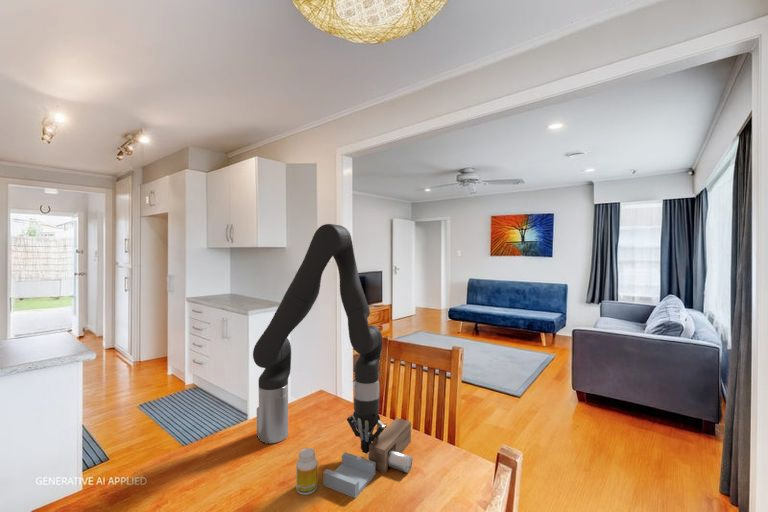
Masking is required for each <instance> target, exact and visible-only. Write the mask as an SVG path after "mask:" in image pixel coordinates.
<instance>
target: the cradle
mask: <svg viewBox="0 0 768 512" xmlns="http://www.w3.org/2000/svg"><path fill="white" fill-rule="evenodd" d="M376 472H377V471H376V462H373V461H370V460H369V459H367V458H364V457H361V456H358V455H355V454H352V453H349V452H346V451H345V452H343V454H342V455H341V464H340V465H339V466H337V468H336V469H335V470H331V469H329V468H326V469H325V470H324V471H323V472H322V483H323V484H322V485H323V486H324V487H327V488H329V489H331V490H334V491H335V492H338V493H341V494H342V495H345V496H348V497H350V498H354V499H356V498H357V497H358V496H359V495H360V494H361V493H362V492H363V490H364V489H365V488H366V487H367V486H368V484H369V483H370V482H371V481H372V480H373V478H374V477H375V476H376V475H377V473H376Z"/></svg>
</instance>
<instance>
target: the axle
mask: <svg viewBox="0 0 768 512" xmlns="http://www.w3.org/2000/svg"><path fill="white" fill-rule="evenodd" d="M367 454H368V459H369V453H367ZM412 465H413V457H412V455H408V454H405V453H403V452H402V453H399V452H396V451H393V450H389V451H388V452H387V468H388V467H389V468H392V469H394V470H397V471H400V472H404V473H406V474H409V473H410V471H411V469H412V467H413V466H412Z"/></svg>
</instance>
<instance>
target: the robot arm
mask: <svg viewBox="0 0 768 512" xmlns="http://www.w3.org/2000/svg"><path fill="white" fill-rule="evenodd" d="M332 258H333V259H334V261H335V263H336V266H337V269H338V276H339V293H340V300H341V303H342V306H343V310H344V312H345V315H346V318H347V328H348V338H349V341H350V344H351V347H352V348H353V350H354V351H355V352H356V353H358V354H359V357H358V359H357V360H356V362H355V364H354V365H355V367H354V383H353V384H354V385H353V410H354V411H353V414H351V415H350V416H348V417H347V418H346V421H347V423H348V425H349V426H350V428H351V430H352V432H353V434H354V435H355V437H357V438H359V439H360V449H361V453H364V454H369V445H370V444H371V443H372V442H373V441H374V440H375V439H376V438H377V437H378V436H379V435H380V434H381V433H382V432H383V431H384V430H385V429H386V428H387V427H388V426H387V424H386V423H383V422H382V421H381V416H380V414H379V412H380V394H381V393H380V379H379V373H380V372H379V369H380V368H379V363H380V360H381V354H382V348H383V335H382V332H381V330H380V329H379V328H378V327H377V326H376V325H369V322H368V318H369V316H370V315H371V310H370V307H369V304H368V301H367V298H366V295H365V292H364V288H363V286H362V283H361V279H360V276H359V271H358V266H357V262H356V257H355V252H354V245H353V240H352V236H351V232H350V230H348V228H347V227H344V226H343V225H340V224H332V223H324V224H322V225H321V226H319V227H318V228H317V229H316V231H315V232H314V235H313V236H312V239H311V241H310V242H309V245H308V249H307V251H306V253H305V256H304V258H303V260H302V262H301V264H300V266H299V268H298V270H297V271H296V273H295V276H294V277H293V278H292V281H291V283H290V284H289V286H288V288H287V290H286V291H285V294H284V295H283V298H282V299H281V302H280V304H279V305H278V307H277V309H276V311H275V313H274V314H273V317H272V318H271V320H270V322H269V324H268V325H267V327H266V329H264V331H263V333H262V334H261V336H259V338H258V340H257V341H256V343H255V345H254V346H253V347H254V348H253V350H252V358H253V362H254V364H255V365H256V366H257V367H259V368H262V369H263V372H262V373H261V374H260V376H259V377H258V407H257V408H256V437H257V436H259V437H258V439H260V440H259V441H260V442H261V441H262V442H261V443H263V442H265V443H264V444H268V443H269V444H270V445H271V444H276V443H279V442H282V441H284V440H285V439H286V438H287V437H288V436H289V377H290V374H291V366H292V365H291V364H292V345H291V343H290V340H289V338H288V337H289V336H290V334H291V332H293V331H294V330H295V329H296V327H298V326H299V324H300V323H301V322H302V321H303V320H304V319H305V318H306V317H307V316H308V314H309V312H310V311H311V309H312V308H313V306H314V304H315V302H316V301H317V299H318V297H319V294H320V290H321V289H320V288H321V282H322V276H323V274H324V271H325V268H326V267H327V266H328V263H329V262H330V261H331V259H332ZM375 428H376V431H375V432H374V430H375ZM373 433H374V434H373ZM269 444H268V445H269Z"/></svg>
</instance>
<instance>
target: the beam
mask: <svg viewBox="0 0 768 512" xmlns="http://www.w3.org/2000/svg"><path fill="white" fill-rule="evenodd" d="M411 435H412V421H410V420H405V419H403V418H398V417H396V418H395V419H394V420H393V421H392V422H391V423H390V424H389V425H388V426H387V427H386V428H385V429H384V430H383V431H382V433H381V434H380V435H379V436H378V437H377V438H376V439H375V440H374V441H373V442H372V441H371V444H370V445H369V452H368V454H369V458H368V460H370V461H373V462H376V472H379V473H381V474H386V473H387V472H388V466H387V452H388V451H389V450H393V451H396V452H399V453H403V452H404V451H405V450H406V448H407V447H408V446H409V445H410V443H411V442H412V440H411V439H412V436H411Z"/></svg>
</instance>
